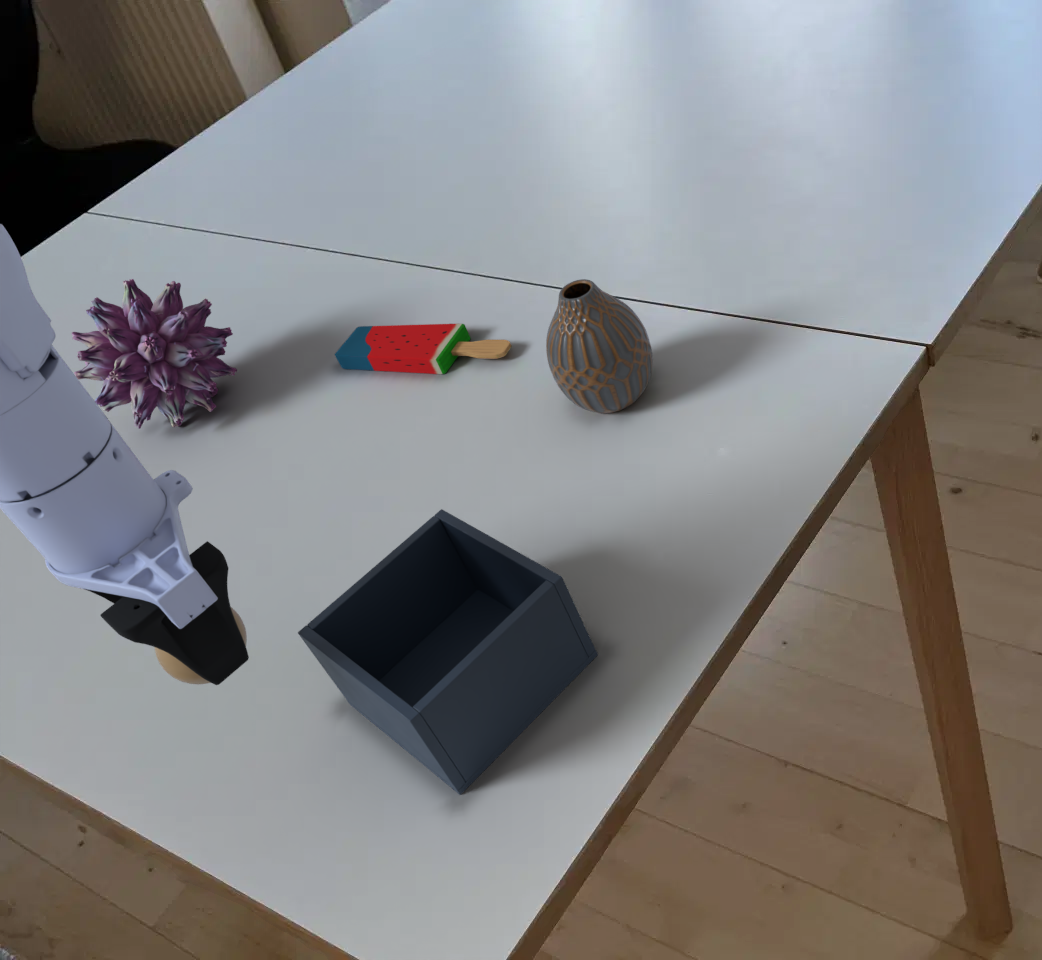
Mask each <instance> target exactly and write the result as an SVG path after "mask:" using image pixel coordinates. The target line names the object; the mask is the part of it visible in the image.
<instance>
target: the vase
mask: <svg viewBox="0 0 1042 960" xmlns="http://www.w3.org/2000/svg"><path fill="white" fill-rule="evenodd" d="M545 341H546V343H545V345H546V347H545V348H546V349H545V350H546V358H547V365H548V367H549V370H550V372H551V375H552V377H553V380H554V381H555V383H556V385H557V387H558V388H559V390H560V391H561V393H562V394H563V395H564V396H565V397H566V398H567V399H568V400H569V401H570V402H572V403H573V404H574V405H575V406H577V407H579V408H581V409H583V410H586V411H589V412H592V413H597V414H612V413H617V412H620V411H622V410H625V409H626V408H628V407H630V406H632V405H633V404H634V403H635V402H637V400H638V399H639V398H640V397H641V395H642V394H643V393H644V392H645V391H646V389H647V387H648V384H649V382H650V380H651V377H652V372H653V361H654V359H653V350H652V349H653V348H652V344H651V342H650V338H649V334H648V332H647V329H646V327H645V326H644V324H643V322H642V320H641V318H640V317H639V316H638V314H636V312H635V311H634V310H633V308H631V306H629V305H628V304H627V303H625V302H624V301H623V300H621V299H620V298H617V297H616V296H614V295H611V294H610V293H607V292H606V291H604V290H602V289H601V287H599V286H598V285H597V284H596V283H595V282H594V281H592V280H590V279H585V278H584V279H583V278H582V279H575V280H572V281H570V282H568V283H566V284H565V285H564V286H563V287H562V288H561V289H560V291H559V293H558V300H557V306H556V309H555V311H554V313H553V316H552V318H551V320H550V322H549V326H548V330H547V333H546V340H545Z"/></svg>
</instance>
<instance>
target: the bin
mask: <svg viewBox="0 0 1042 960" xmlns="http://www.w3.org/2000/svg"><path fill="white" fill-rule="evenodd" d="M569 591H570V590H569V589H568V587H567V585H566V582H565V581H564V578H563V576H562V575H560V574H558V573H556V572H555V571H553V570H551V569H549V568H547V567H546V566H544V565H543V564H540V563H539V562H537V561H535V560H533V559H532V558H530V557H528V556H527V555H524V554H523V553H522V552H519V551H517V550H515V549H513V548H512V547H510V546H509V545H507V544H504V543H503V542H501V541H500V540H498V539H496V538H494V537H492V536H491V535H489V534H487V533H486V532H484V531H481V530H480V529H478V528H477V527H474V526H473V525H471V524H469V523H467V522H465V521H464V520H462V519H461V518H459V517H457V516H455V515H453V514H451V513H450V512H448V511H446V510H444V509H443V508H441V509H440V510H439V511H437V512H436V513H435V514H434V515H433V516H432V517H430V518H429V519H428V520H427V521H426V522H425V523H423V524H422V525H421V526H419V528H418V529H416V530H415V531H414V532H413V533H412V534H410V535H409V536H408V537H407V538H406V539H405V540H404V541H402V542H401V543H400V544H399V545H398V546H396V548H394V549H393V550H392V551H391V552H390V553H388V554H387V555H386V556H385V557H383V558H382V560H380V561H379V562H378V563H377V564H376V565H375V566H373V567H372V568H371V569H370V570H369V571H368V572H366V573H365V574H364V575H363V576H362V577H360V578H359V579H358V580H357V581H356V582H355V583H354V584H352V585H351V586H350V587H349V588H348V589H346V590H345V591H344V592H343V593H341V595H339V596H338V597H337V598H336V599H335V600H334V601H333V602H331V603H330V604H329V605H328V606H327V607H325V609H323V610H322V611H321V612H320V613H319V614H318V615H317V616H315V617H314V618H313V619H311V620H310V622H308V623H307V625H304V626H303V627H302V628H301V629H300V630H298V632H297V634H298V635H299V638H301V640H302V641H303V643H304V644H305V645H306V646H307V648H308V649H309V651H310V652H311V653H312V655H313V656H314V658H315V659H316V660H317V662H318V663H319V664H320V666H321V667H322V668H323V670H324V671H325V673H326V674H327V675H328V676H329V678H330V680H331V681H332V682H333V683H334V685H335V686H336V687H337V689H338V690H339V691H340V693H341V694H342V696H343V697H344V699H345V700H346V701H347V702H348V704H349V705H350V706H351V707H352V708H354V710H356V711H357V712H358V713H359V714H361V715H362V716H363V717H364V718H366V719H367V720H368V721H369V722H370V723H372V724H373V725H374V726H375V727H377V729H379V730H380V731H381V732H382V733H384V734H385V735H386V736H388V737H389V738H390V739H391V740H392V741H394V743H396V744H397V745H398V746H400V747H401V748H402V749H403V750H404V751H406V752H407V753H408V754H409V755H410V756H412V757H413V758H414V759H416V761H418V762H419V763H420V764H422V765H423V766H424V767H425V768H426V769H428V770H429V772H431V773H433V774H434V775H435V776H436V777H437V778H438V779H440V780H441V781H442V782H443V783H445V784H446V785H447V786H448V787H450V789H452V790H453V791H455V793H457V794H458V795H459V796H461V795H463V793H464V792H465V791H466V790H467V789H468V788H469V787H470V786H471V785H472V784H473V783H474V782H475V781H476V780H477V779H478V778H479V777H480V776H481V775H482V774H483V773H484V772H485V771H486V770H487V769H488V768H489V767H490V766H491V765H492V763H494V761H496V759H497V758H498V757H500V755H502V753H503V752H504V751H505V750H506V749H507V748H508V747H509V746H510V745H512V744H513V742H514V741H515V740H516V739H517V738H518V737H519V736H520V735H521V734H522V733H523V732H524V731H525V730H526V729H527V728H528V727H529V726H530V725H531V724H532V723H533V722H534V721H535V720H536V719H537V718H538V717H539V716H540V715H541V714H542V712H544V711H545V709H547V708H548V707H549V706H550V704H551V703H552V702H553V701H554V700H556V698H557V697H558V696H559V695H560V694H562V693H563V691H564V690H565V689H566V688H567V687H568V686H569V685H570V684H571V683H572V682H573V681H574V680H575V679H576V678H577V677H578V676H579V675H581V673H582V672H583V671H584V670H585V669H586V668H587V667H588V666H589V664H591V663H592V661H594V659H596V658H597V657H598V656H599V654H598V651H597V650H596V648H595V645H594V643H593V641H592V639H591V637H590V635H589V632H588V630H587V628H586V626H585V624H584V621H583V620H582V617H581V615H580V613H579V610H578V609H577V606H576V604H575V602H574V600H573V597H572V596H571V593H570V592H569Z"/></svg>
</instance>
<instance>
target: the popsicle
mask: <svg viewBox="0 0 1042 960" xmlns="http://www.w3.org/2000/svg"><path fill="white" fill-rule="evenodd" d="M471 339H472V338H471V335H470V333H469V331H468V329H467V327H466V324H465V323H435V324H434V323H426V324H425V323H424V324H396V325H393V324H392V325H363V326H362V325H361V326H357V327H356V328H355V329H354V330H353V331H352V333H351V334H350V335H349V336H348V337H347V338H346V340H345V341H344V342H343V343H342V345H341V346H340V347H339V348H338V349H337V351H336V352H335V353H334V356H335V358H336V360H337V362H338V364H339V366H340V368H341V369H342V370H353V371H355V370H356V371H357V370H358V371H375V372H394V373H411V374H431V375H445V374H447V373H448V371H449V370H450V368H451V367H452V366H453V364H454V363H455V361H456V360H457V359H458V358H459V357H461V356H462V357H470V358H474V359H485V360H486V359H492V360H493V359H500V358H504V357H505V356H507V354H508V353H509V351H510V350H511V348H512V344H511V342H510V341H509V340H507V339H481V340H475V341H470V340H471Z"/></svg>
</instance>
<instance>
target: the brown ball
mask: <svg viewBox="0 0 1042 960" xmlns="http://www.w3.org/2000/svg"><path fill="white" fill-rule="evenodd" d="M231 610H232V613H233V616H234V618H235V621H236V623H237V626H238V628H239V630H240V633H241V635H242V638H243V640H244V643H245V646H246V647H247V641H248V635H247V629H246V625H245V623H244V621H243V619H242V617H241V615H239V613H238V612H237V610H235V609H234V608H233V607H231ZM154 653H155V657H156V659H157V661H158V663H159V665H160V666H161V667H162V669H163V670H164V672H166V673H167V674H168V675H169V676H170V677H171V678H173V679H175V680H177V681H179V682H181V683H185V684H188V685H209V684H212V683H211V682H209V681H207V680H205V679H204V678H202V677H201V676H199V675H198V674H196V673H195V672H194V671H192V670H191V669H190V668H188V667H187V666H186V665H184V664H183V663H182V662H180V661H179V660H178V659H176V658H175V657H173V656H172V655H170V654H169V653H167V652H165V651H163V650H161V649H158V648H156V647H154Z"/></svg>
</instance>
